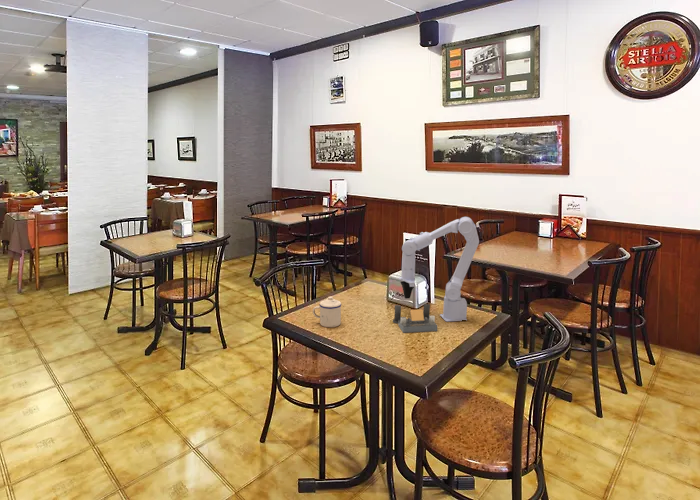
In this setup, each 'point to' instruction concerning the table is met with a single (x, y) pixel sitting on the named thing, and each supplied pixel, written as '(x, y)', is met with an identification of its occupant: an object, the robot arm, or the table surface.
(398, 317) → the cord post
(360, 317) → the table surface
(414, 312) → the tan flat block
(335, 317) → the teacup with lid
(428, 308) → the post
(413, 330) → the panel
